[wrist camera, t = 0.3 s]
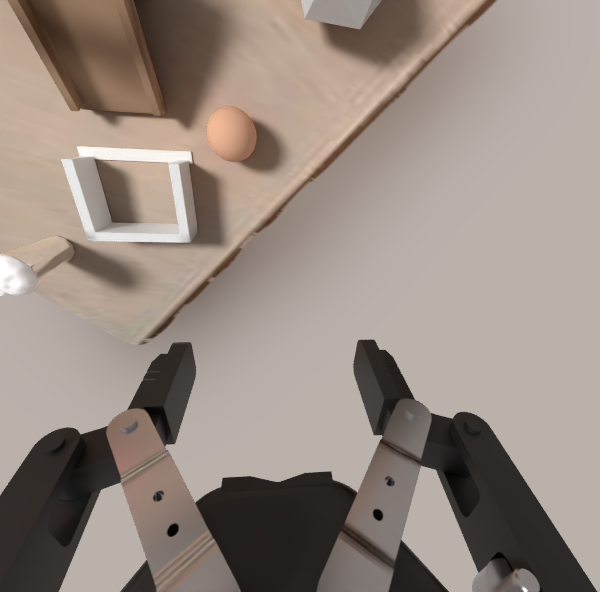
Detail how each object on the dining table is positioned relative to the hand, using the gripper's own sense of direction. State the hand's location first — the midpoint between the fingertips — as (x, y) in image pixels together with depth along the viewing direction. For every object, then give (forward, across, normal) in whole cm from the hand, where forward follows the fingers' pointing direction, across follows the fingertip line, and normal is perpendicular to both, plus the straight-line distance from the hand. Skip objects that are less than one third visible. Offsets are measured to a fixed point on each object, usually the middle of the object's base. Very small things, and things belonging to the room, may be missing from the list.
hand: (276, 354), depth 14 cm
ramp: (+26, +15, -16) cm, 34 cm away
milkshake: (+26, +27, +5) cm, 38 cm away
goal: (+26, +15, -2) cm, 31 cm away
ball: (+24, +4, -8) cm, 26 cm away
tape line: (+26, +15, -6) cm, 31 cm away
